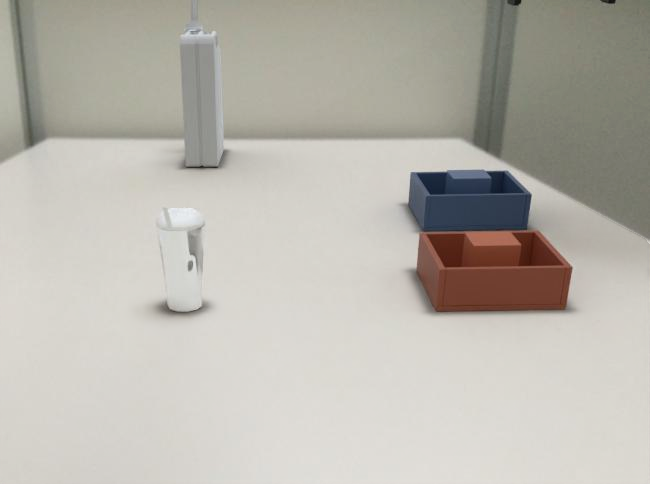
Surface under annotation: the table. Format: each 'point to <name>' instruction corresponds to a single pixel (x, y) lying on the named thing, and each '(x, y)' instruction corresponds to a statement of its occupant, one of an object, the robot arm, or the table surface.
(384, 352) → the table surface
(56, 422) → the table surface
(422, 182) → the slate bin
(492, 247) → the terracotta block
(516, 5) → the robot arm
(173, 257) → the milkshake
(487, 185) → the slate block
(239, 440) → the table surface
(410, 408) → the table surface
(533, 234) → the terracotta bin
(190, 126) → the jerry can
